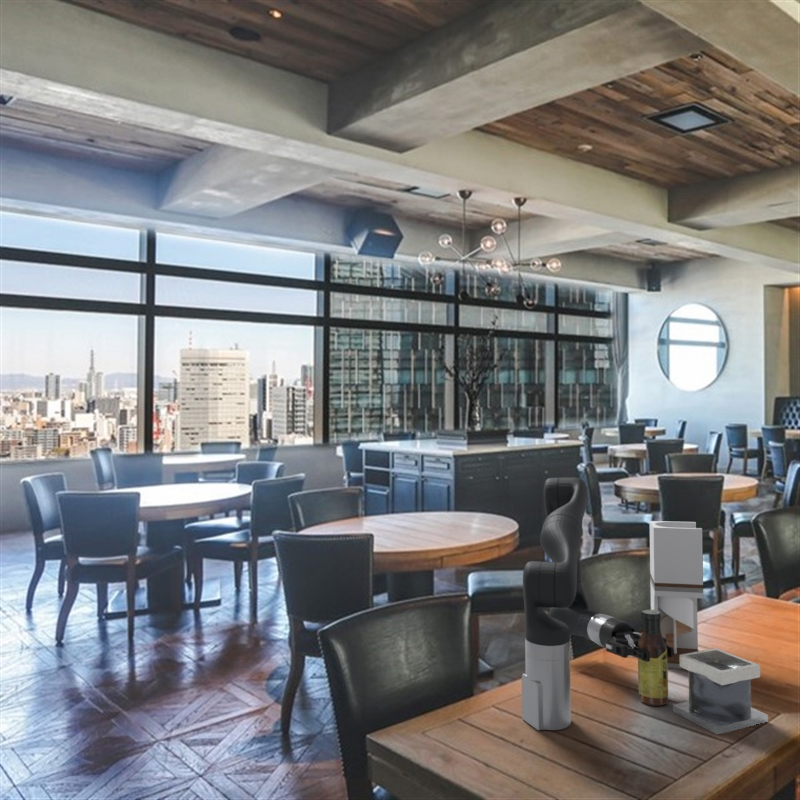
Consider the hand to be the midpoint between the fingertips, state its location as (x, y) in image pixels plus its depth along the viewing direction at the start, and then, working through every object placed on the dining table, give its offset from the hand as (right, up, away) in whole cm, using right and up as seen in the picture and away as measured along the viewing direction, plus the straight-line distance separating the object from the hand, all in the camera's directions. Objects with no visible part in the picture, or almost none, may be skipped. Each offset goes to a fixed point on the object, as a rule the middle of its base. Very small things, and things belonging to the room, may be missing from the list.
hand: (660, 654), depth 159 cm
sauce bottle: (-1, -11, +2) cm, 11 cm away
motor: (+10, -11, -6) cm, 16 cm away
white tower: (+14, -11, +27) cm, 32 cm away
